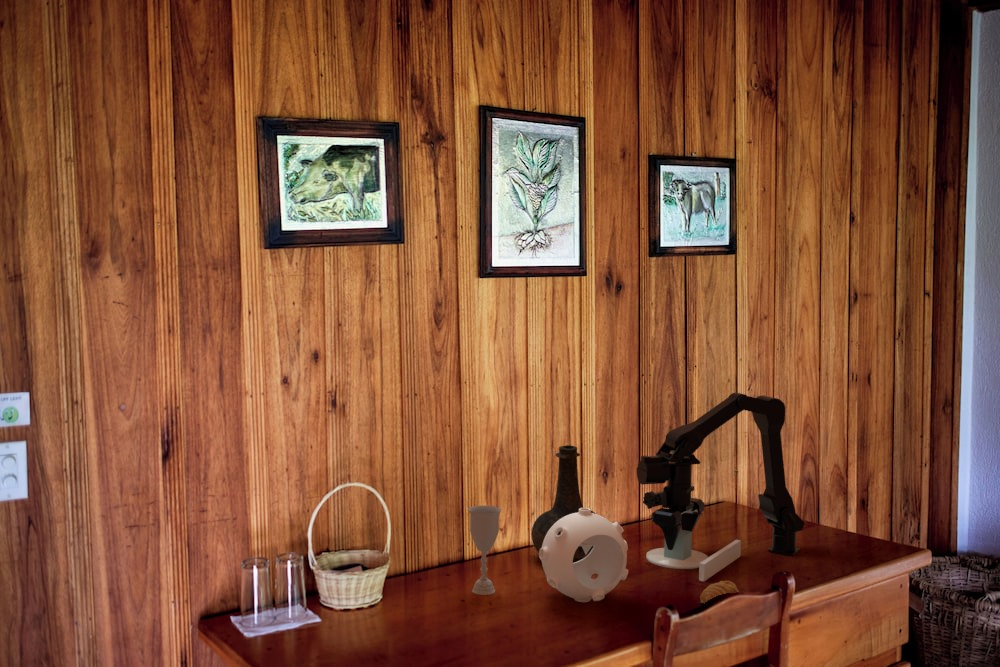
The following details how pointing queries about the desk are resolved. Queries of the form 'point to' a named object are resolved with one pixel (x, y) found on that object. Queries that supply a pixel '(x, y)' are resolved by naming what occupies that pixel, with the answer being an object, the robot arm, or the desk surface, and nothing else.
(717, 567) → the panel
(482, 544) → the chalice
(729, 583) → the pastry
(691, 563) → the plate
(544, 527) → the glass bottle
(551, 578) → the decorative ball
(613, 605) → the desk surface
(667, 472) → the robot arm
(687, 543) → the block
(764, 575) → the desk surface
